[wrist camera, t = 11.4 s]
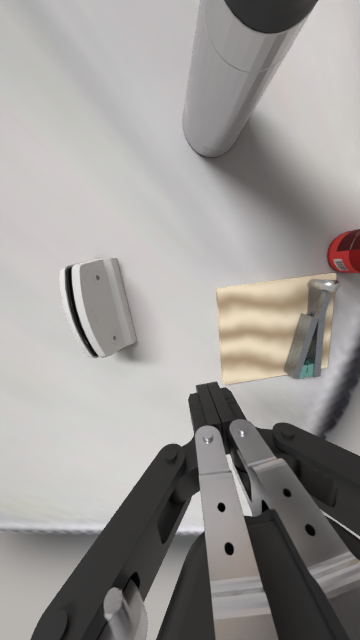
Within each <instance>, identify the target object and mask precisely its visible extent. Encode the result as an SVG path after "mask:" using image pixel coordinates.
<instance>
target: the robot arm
mask: <svg viewBox="0 0 360 640" xmlns="http://www.w3.org/2000/svg"><path fill="white" fill-rule="evenodd" d="M317 1H318V0H200V5H199V12H198V19H197V25H196V32H195V39H194V45H193V52H192V59H191V65H190V72H189V79H188V85H187V91H186V98H185V105H184V111H183V129H184V133H185V136H186V139H187V141H188V143H189V144H190V145H191V147H192V148H193V149H194V150H195V151H196V152H197V153H199V154H201V155H203V156H206V157H217V156H220V155H222V154H224V153H226V152H227V151H228V150H229V149H230V148H231V147H232V145H233V144H234V142H235V141H236V139H237V137H238V136H239V134H240V132H241V131H242V129H243V127H244V126H245V124H246V122H247V121H248V119H249V117H250V115H251V114H252V112H253V110H254V109H255V107H256V105H257V103H258V102H259V100H260V98H261V97H262V95H263V93H264V92H265V90H266V88H267V86H268V85H269V83H270V81H271V80H272V78H273V76H274V75H275V73H276V71H277V69H278V68H279V66H280V64H281V63H282V61H283V59H284V58H285V56H286V54H287V52H288V51H289V49H290V47H291V46H292V44H293V42H294V40H295V39H296V37H297V35H298V33H299V32H300V30H301V28H302V27H303V25H304V23H305V22H306V20H307V18H308V16H309V15H310V13H311V11H312V10H313V8H314V6H315V4H316V3H317ZM196 391H197V393H194V394H190V396H189V399H188V401H189V408H190V414H191V420H192V425H193V430H194V436H193V438H192V440H191V441H190V442H189V443H188V444H186V445H184V446H182V447H181V446H180V445H178V444H169V445H166V446H165V447H163V448H162V449H161V450H160V452H159V453H158V455H157V456H156V457H155V459H154V460H153V461H152V463H151V464H150V466H149V467H148V468H147V470H146V471H145V473H144V474H143V475H142V477H141V478H140V480H139V481H138V482H137V484H136V485H135V486H134V488H133V489H132V491H131V492H130V493H129V495H128V496H127V498H126V499H125V500H124V502H123V503H122V505H121V506H120V507H119V509H118V510H117V511H116V513H115V514H114V516H113V517H112V518H111V520H110V521H109V523H108V524H107V525H106V527H105V528H104V530H103V531H102V532H101V534H100V535H99V537H98V538H97V539H96V541H95V542H94V544H93V545H92V546H91V548H90V549H89V550H88V552H87V554H86V555H85V556H84V557H83V559H82V560H81V562H80V563H79V564H78V566H77V567H76V568H75V570H74V571H73V573H72V574H71V575H70V577H69V578H68V580H67V581H66V582H65V584H64V585H63V587H62V588H61V590H60V591H59V592H58V593H57V595H56V596H55V598H54V599H53V600H52V602H51V603H50V605H49V606H48V607H47V609H46V610H45V612H44V613H43V615H42V617H41V618H40V620H39V622H38V624H37V626H36V628H35V630H34V633H33V635H32V638H31V640H146V637H147V628H148V626H147V625H148V620H147V612H146V609H145V606H144V600H145V598H146V596H147V594H148V592H149V589H150V587H151V585H152V583H153V581H154V579H155V576H156V574H157V572H158V570H159V568H160V566H161V564H162V561H163V559H164V557H165V555H166V553H167V550H168V548H169V546H170V544H171V542H172V539H173V538H174V536H175V533H176V531H177V529H178V527H179V525H180V523H181V520H182V518H183V516H184V514H185V512H186V510H187V507H188V505H189V503H190V501H191V497H192V496H193V495H194V494H195V493H197V492H198V491H200V492H201V502H202V511H203V520H204V530H205V531H204V532H203V533H202V534H201V535H200V536H199V537H198V538H197V539H196V540H195V542H194V543H193V545H192V546H191V549H190V550H189V552H188V554H187V556H186V559H185V561H184V564H183V567H182V570H181V573H180V575H179V578H178V581H177V584H176V586H175V589H174V592H173V595H172V597H171V600H170V603H169V605H168V608H167V611H166V614H165V616H164V619H163V623H162V625H161V628H160V630H159V633H158V636H157V639H156V640H360V539H358V538H357V537H356V536H354V535H353V534H351V533H350V532H349V531H347V530H346V529H345V528H343V527H342V526H340V525H339V524H338V523H336V522H335V521H333V520H332V519H330V518H328V517H326V516H325V515H323V513H322V512H321V510H322V511H324V512H325V513H327V514H328V515H330V516H331V517H333V518H334V519H335V520H337V521H338V522H340V523H342V524H343V525H345V526H346V527H347V528H349V529H350V530H352V531H353V532H354V533H356V534H357V535H359V536H360V456H358V455H356V454H354V453H352V452H350V451H347V450H345V449H343V448H341V447H339V446H337V445H335V444H332V443H330V442H328V441H326V440H324V439H322V438H319V437H317V436H315V435H313V434H311V433H309V432H307V431H304V430H302V429H300V428H298V427H296V426H294V425H291V424H288V423H277V424H275V425H274V426H273V430H269V429H260V428H257V427H255V426H254V425H253V424H252V423H251V422H249V421H247V419H246V418H245V416H244V414H243V412H242V410H241V409H240V407H239V405H238V403H237V401H236V400H235V398H234V396H233V394H232V392H231V391H230V390H228V389H227V388H220V387H219V385H218V383H217V382H211V383H207V384H201V385H196ZM227 454H230V455H231V458H232V464H233V469H234V471H235V474H236V476H237V478H238V481H239V483H240V485H241V487H242V490H243V492H244V494H245V497H246V499H247V501H248V504H249V506H250V509H251V512H252V516H253V517H251V516H244V515H243V512H242V508H241V504H240V500H239V497H238V493H237V489H236V485H235V482H234V478H233V475H232V472H231V471H230V469H229V465H228V462H227V458H226V455H227ZM316 470H317V471H316ZM323 474H324V475H323ZM320 509H321V510H320Z"/></svg>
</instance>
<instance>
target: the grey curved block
mask: <svg viewBox="0 0 360 640" xmlns="http://www.w3.org/2000/svg"><path fill="white" fill-rule="evenodd" d="M60 289H61V296H62V302H63V306H64V310H65V314H66V317H67V320H68V323H69V325H70V328H71V330H72V332H73V334H74V336H75V338H76V340H77V342H78V344H79V345H80V347H81V348H82V350H83V351H84V352H85V354H86V355H87V356H88V357H92V358H97V357H101V358H104V357H107V356H110V355H112V354H114V353H115V352H117V351H119V350H120V349H122V348H124V347H126V346H128V345H131V344H133V343H134V342H135V341H137V339H136V335H135V331H134V327H133V323H132V319H131V315H130V311H129V307H128V303H127V299H126V295H125V291H124V287H123V283H122V279H121V275H120V271H119V267H118V262H117V258H99V259H95V260H90V261H86V262H82V263H78V264H74V265H70V266H67V267H65V268H63V269H61V270H60Z"/></svg>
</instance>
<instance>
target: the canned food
mask: <svg viewBox="0 0 360 640" xmlns="http://www.w3.org/2000/svg"><path fill="white" fill-rule="evenodd" d="M327 258H328V262H329V264H330V266H331V267H332V268H333V269H334V270H336V271H339V272H343V273H360V229H358V230H353V231H348V232H345V233H343V234H341V235H340V236H338V237H337V238H335V239H334V240H333V241H332V243H331V244H330V246H329V249H328V253H327Z"/></svg>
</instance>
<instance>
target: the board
mask: <svg viewBox="0 0 360 640" xmlns="http://www.w3.org/2000/svg"><path fill="white" fill-rule="evenodd" d="M336 274H337V273H327V274H319V275H312V276H304V277H296V278H289V279H281V280H274V281H266V282H259V283H251V284H244V285H236V286H228V287H221V288H216V294H217V309H218V324H219V339H220V354H221V368H222V382H223V384H224V385H227V384H233V383H239V382H245V381H251V380H257V379H263V378H269V377H275V376H281V375H287V373H286V372H285V371H284V367H285V364H286V361H287V358H288V354H289V351H290V348H291V345H292V341H293V338H294V335H295V331H296V328H297V325H298V322H299V318H300V315H301V313H303V314H307V306H308V290H309V288H308V286H307V284H308V281H309V280H310V279H326V280H336ZM328 294H332V296H331V299H330V302H329V305H328V308H327V311H326V317H325V328H324V339H323V351H322V362H321V369H323V368H327V366H328V355H329V345H330V335H331V325H332V315H333V305H334V294H335V292H330V291H328Z"/></svg>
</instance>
